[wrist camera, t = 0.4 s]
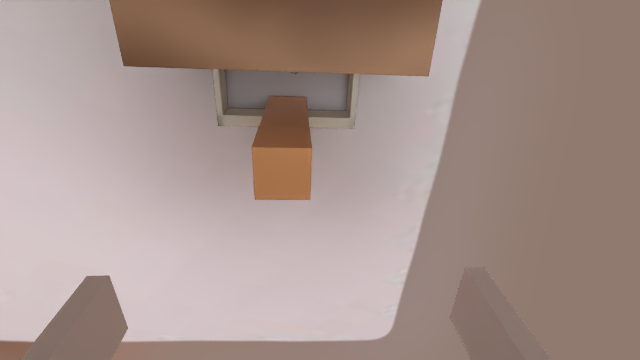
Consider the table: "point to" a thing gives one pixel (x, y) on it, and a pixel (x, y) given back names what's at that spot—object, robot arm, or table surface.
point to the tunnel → (280, 35)
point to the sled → (283, 138)
